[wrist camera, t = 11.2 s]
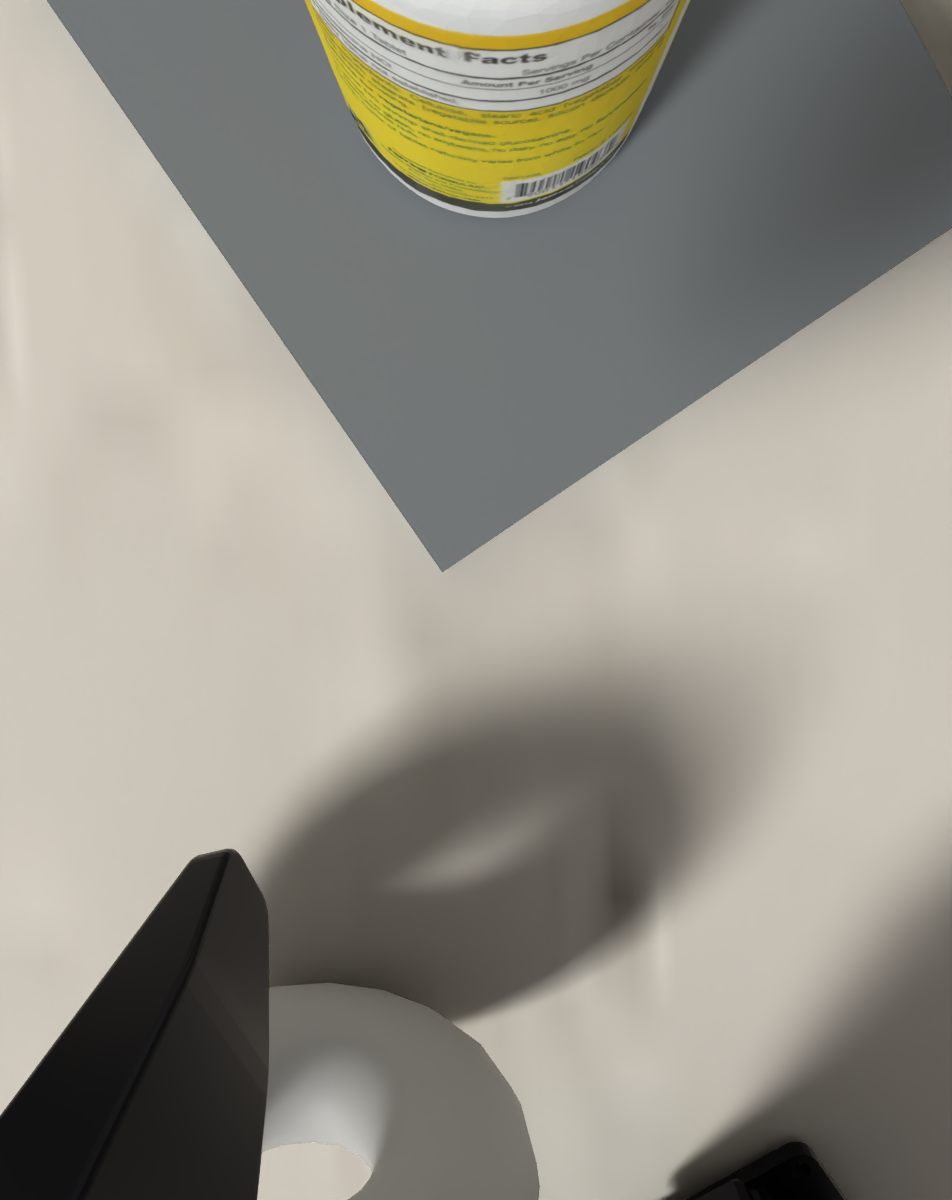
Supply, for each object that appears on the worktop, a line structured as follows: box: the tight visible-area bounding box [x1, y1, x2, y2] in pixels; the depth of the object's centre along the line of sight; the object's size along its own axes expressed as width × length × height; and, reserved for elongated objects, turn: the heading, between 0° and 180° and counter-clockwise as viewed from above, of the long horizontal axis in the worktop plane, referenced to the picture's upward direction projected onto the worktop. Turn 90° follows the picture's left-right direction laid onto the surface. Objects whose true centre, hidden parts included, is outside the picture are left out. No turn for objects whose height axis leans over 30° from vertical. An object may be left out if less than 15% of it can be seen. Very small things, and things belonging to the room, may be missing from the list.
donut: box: [262, 983, 540, 1200], centre depth 16 cm, size 10×4×10 cm, turn 88°
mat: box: [47, 0, 952, 572], centre depth 17 cm, size 16×14×1 cm
